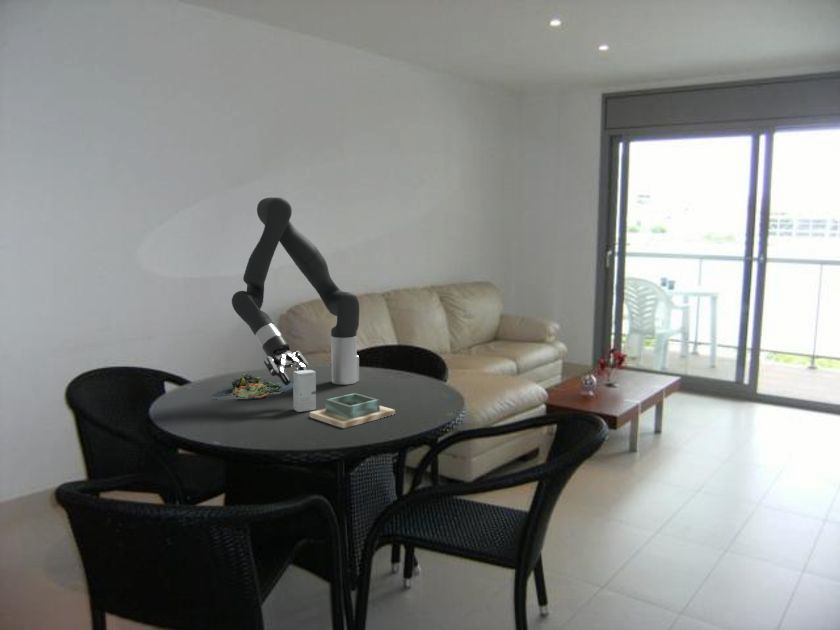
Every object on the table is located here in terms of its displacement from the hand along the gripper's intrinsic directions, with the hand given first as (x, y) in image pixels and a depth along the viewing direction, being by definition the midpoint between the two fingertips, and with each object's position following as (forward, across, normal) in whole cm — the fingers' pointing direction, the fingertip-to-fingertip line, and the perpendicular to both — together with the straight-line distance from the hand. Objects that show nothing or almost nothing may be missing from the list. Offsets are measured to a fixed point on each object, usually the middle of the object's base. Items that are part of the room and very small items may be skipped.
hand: (298, 381), depth 207 cm
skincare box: (+8, 0, +4) cm, 9 cm away
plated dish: (-13, +7, +27) cm, 31 cm away
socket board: (+20, +3, -8) cm, 21 cm away
